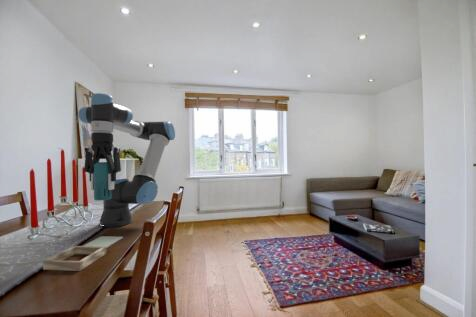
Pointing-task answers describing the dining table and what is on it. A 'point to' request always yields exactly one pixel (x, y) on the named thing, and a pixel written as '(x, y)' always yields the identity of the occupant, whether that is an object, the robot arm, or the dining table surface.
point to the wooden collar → (59, 264)
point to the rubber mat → (103, 241)
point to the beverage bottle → (101, 180)
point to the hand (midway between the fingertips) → (102, 189)
